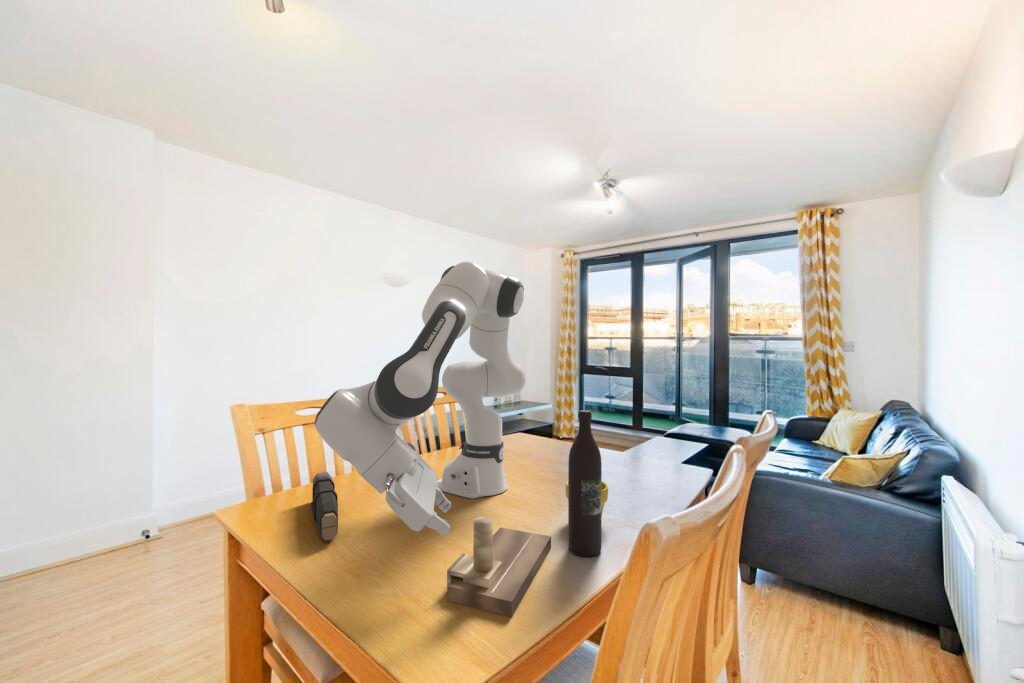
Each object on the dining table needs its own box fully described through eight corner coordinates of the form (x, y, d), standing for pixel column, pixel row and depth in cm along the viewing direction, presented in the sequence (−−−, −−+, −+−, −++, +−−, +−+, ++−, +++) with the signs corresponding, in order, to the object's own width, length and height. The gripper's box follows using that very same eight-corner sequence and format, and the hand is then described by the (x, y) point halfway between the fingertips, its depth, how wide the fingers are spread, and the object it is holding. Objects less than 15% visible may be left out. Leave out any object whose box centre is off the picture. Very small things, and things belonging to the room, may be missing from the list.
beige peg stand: (447, 589, 73) (447, 522, 73) (462, 571, 78) (462, 509, 78) (488, 599, 70) (489, 529, 70) (502, 580, 75) (502, 516, 75)
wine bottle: (579, 560, 83) (580, 414, 83) (562, 545, 90) (562, 409, 90) (608, 553, 86) (608, 412, 86) (589, 539, 93) (589, 407, 93)
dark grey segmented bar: (306, 563, 88) (304, 499, 114) (339, 562, 91) (329, 500, 117) (320, 514, 88) (314, 461, 114) (352, 515, 91) (340, 464, 117)
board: (447, 600, 70) (447, 585, 70) (500, 538, 93) (500, 527, 93) (511, 617, 66) (511, 601, 66) (551, 547, 89) (551, 536, 89)
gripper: (396, 472, 61) (461, 532, 63) (411, 440, 82) (460, 486, 83) (365, 503, 61) (432, 563, 62) (388, 463, 81) (437, 509, 82)
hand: (448, 519), depth 73 cm, fingers open, 8 cm apart
